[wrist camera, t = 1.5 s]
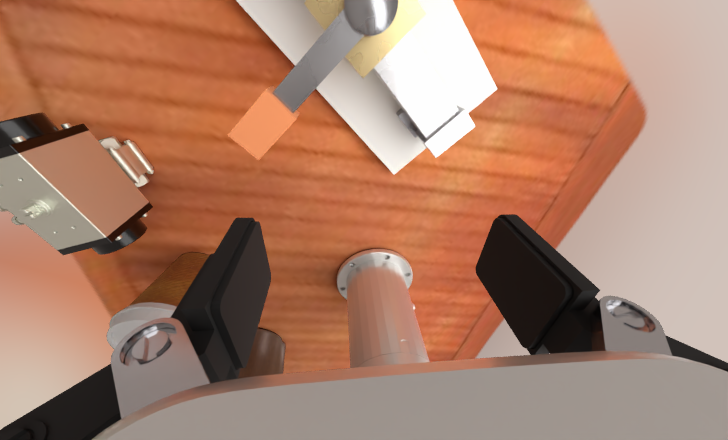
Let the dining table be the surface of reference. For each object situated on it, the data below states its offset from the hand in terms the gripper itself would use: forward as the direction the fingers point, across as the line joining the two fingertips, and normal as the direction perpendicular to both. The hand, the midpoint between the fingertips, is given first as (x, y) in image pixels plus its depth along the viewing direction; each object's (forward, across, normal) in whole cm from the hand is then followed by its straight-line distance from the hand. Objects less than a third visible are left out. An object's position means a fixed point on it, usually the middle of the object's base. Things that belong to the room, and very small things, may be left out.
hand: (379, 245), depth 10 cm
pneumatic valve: (+22, +25, +5) cm, 34 cm away
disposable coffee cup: (+23, +22, +22) cm, 39 cm away
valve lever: (+14, +3, -5) cm, 15 cm away
